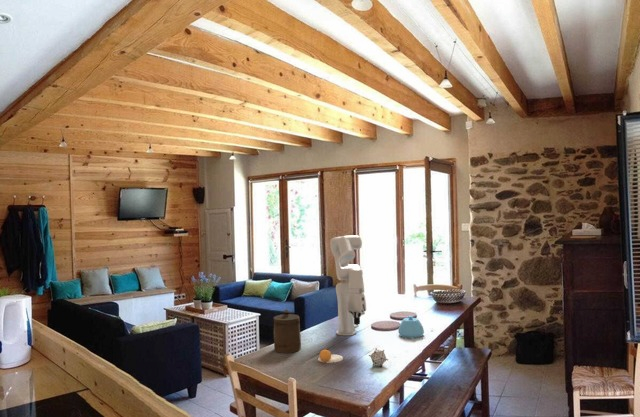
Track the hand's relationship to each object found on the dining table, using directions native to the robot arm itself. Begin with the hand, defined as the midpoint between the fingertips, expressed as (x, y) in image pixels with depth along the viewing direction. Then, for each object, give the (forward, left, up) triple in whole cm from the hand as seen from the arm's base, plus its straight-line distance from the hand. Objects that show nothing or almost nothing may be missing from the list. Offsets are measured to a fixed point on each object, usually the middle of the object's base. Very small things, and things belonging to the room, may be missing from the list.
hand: (357, 324), depth 266 cm
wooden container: (+25, -30, -14) cm, 41 cm away
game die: (+15, +26, -14) cm, 33 cm away
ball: (+27, +1, -10) cm, 29 cm away
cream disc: (+22, 0, -13) cm, 26 cm away
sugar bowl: (-40, +8, -14) cm, 43 cm away
